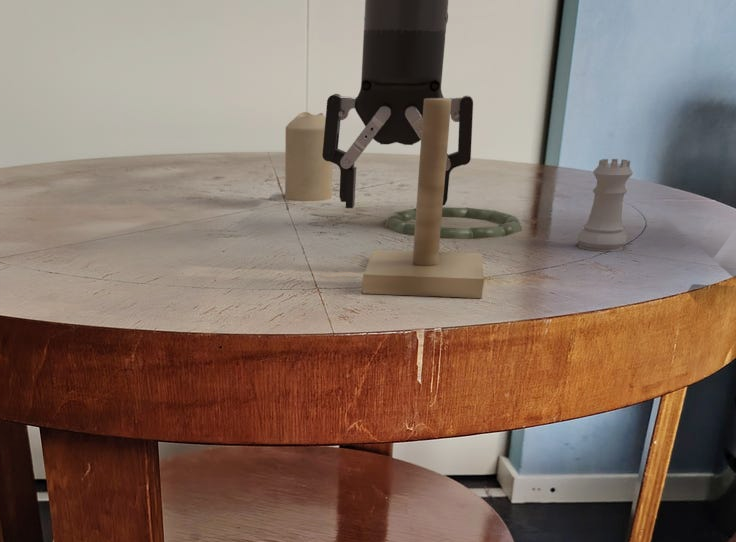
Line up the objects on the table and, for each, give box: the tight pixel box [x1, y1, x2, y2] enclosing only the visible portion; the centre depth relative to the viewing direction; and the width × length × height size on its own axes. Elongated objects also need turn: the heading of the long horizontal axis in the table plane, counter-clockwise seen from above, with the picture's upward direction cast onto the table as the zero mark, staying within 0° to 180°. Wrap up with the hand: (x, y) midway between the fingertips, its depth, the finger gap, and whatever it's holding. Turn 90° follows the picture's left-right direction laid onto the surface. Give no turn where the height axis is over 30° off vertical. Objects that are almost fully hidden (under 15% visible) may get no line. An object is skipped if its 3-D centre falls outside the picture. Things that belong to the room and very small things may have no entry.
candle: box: [284, 111, 333, 202], centre depth 105 cm, size 6×6×10 cm
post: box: [362, 97, 485, 299], centre depth 69 cm, size 9×9×14 cm
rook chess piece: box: [576, 158, 634, 252], centre depth 79 cm, size 4×4×8 cm
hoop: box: [384, 206, 522, 240], centre depth 90 cm, size 13×13×2 cm
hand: (392, 208), depth 90 cm, fingers open, 8 cm apart
